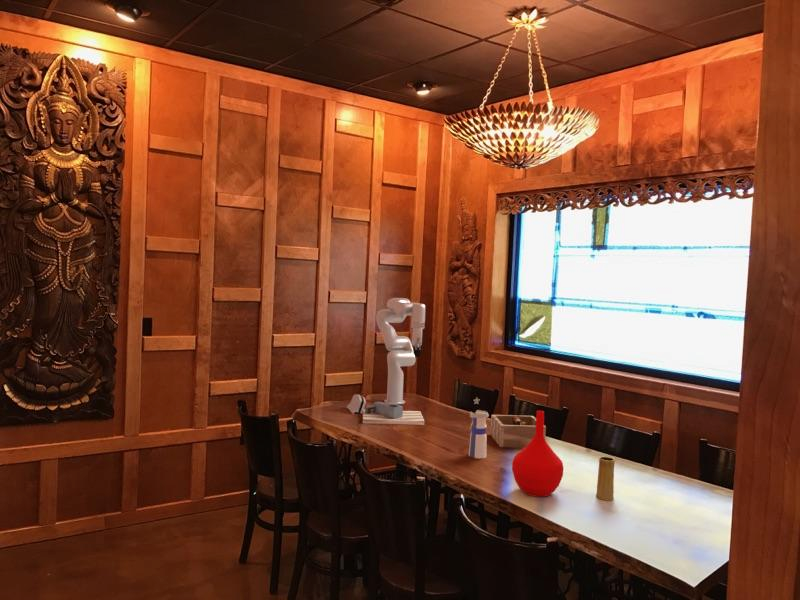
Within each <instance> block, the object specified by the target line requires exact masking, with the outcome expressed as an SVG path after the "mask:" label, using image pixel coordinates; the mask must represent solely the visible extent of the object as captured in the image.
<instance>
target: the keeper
mask: <svg viewBox="0 0 800 600" xmlns="http://www.w3.org/2000/svg"><path fill="white" fill-rule="evenodd" d="M371 409H374V404H373V405H372V404H371V405H367V406H364V410H365V413H366V414H370V411H371Z"/></svg>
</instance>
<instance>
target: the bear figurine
mask: <svg viewBox="0 0 800 600" xmlns="http://www.w3.org/2000/svg"><path fill="white" fill-rule="evenodd" d="M520 416H521V415H518V416H517V417H513V416H511V418H512V422H513V425H526V424H527V422H526V423H525V422H521V421H520V418H519V417H520Z"/></svg>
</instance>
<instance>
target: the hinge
mask: <svg viewBox="0 0 800 600" xmlns="http://www.w3.org/2000/svg"><path fill="white" fill-rule="evenodd" d="M366 403H367V401H366V399H365V397H364V396H363V395H361V394H353V395H352V398H351V401H350V402H349V403H348V404H347V405H346V409H347V408H348V409H349V410H350V411H349V410H348V411H349V412H350V413H352V414H353V415H354V414H355V413H359V414H360V415H363V410H365V407H366V406H365V405H366Z"/></svg>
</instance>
